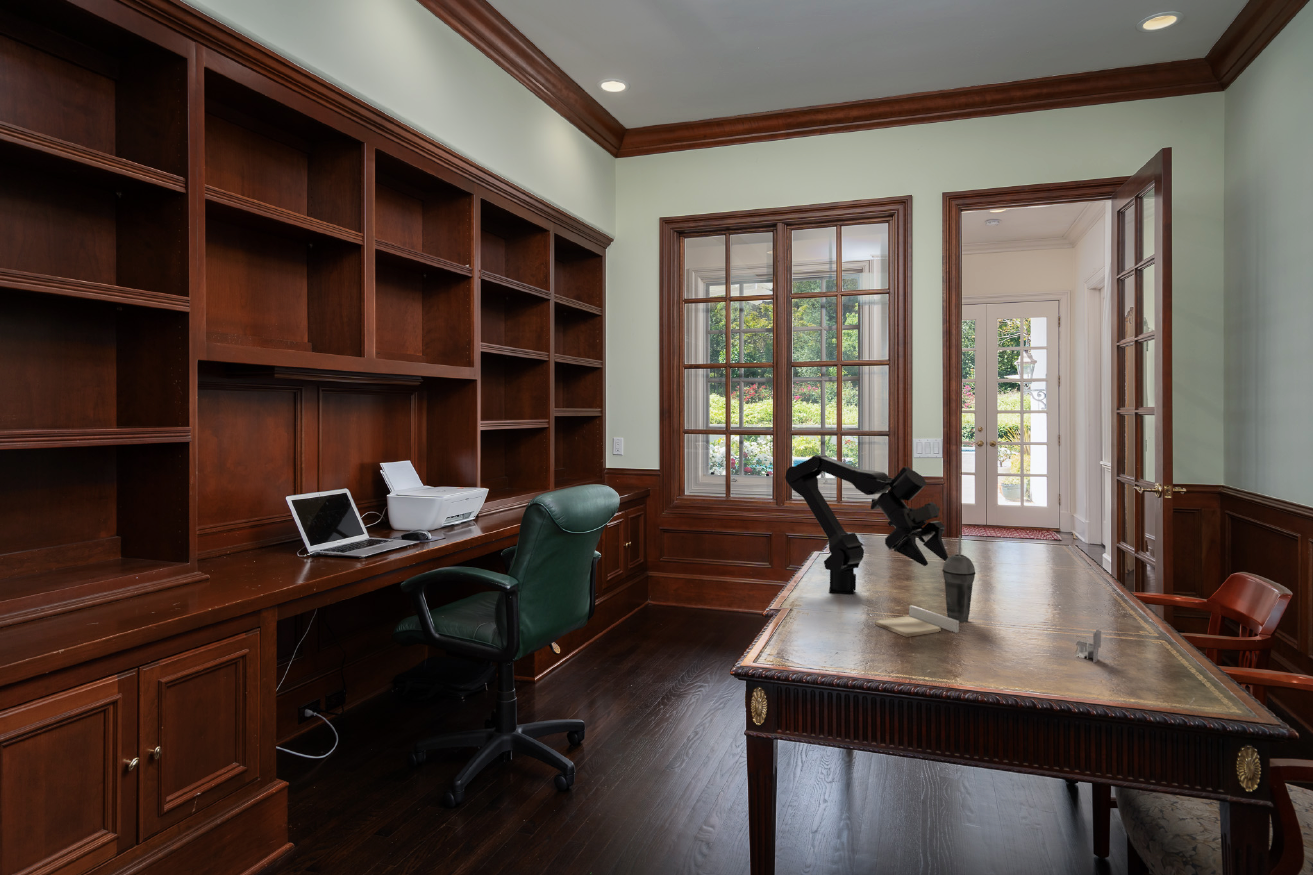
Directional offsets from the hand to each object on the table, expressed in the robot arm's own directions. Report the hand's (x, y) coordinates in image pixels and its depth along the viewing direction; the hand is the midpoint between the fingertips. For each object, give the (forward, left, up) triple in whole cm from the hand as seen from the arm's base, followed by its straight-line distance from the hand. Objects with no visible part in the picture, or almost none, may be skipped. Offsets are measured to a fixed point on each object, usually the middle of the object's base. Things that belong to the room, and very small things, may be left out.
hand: (937, 562), depth 174 cm
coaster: (-8, -13, -13) cm, 20 cm away
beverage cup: (+4, -3, -13) cm, 14 cm away
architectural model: (+21, -27, -13) cm, 37 cm away
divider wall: (-2, -8, -13) cm, 15 cm away
